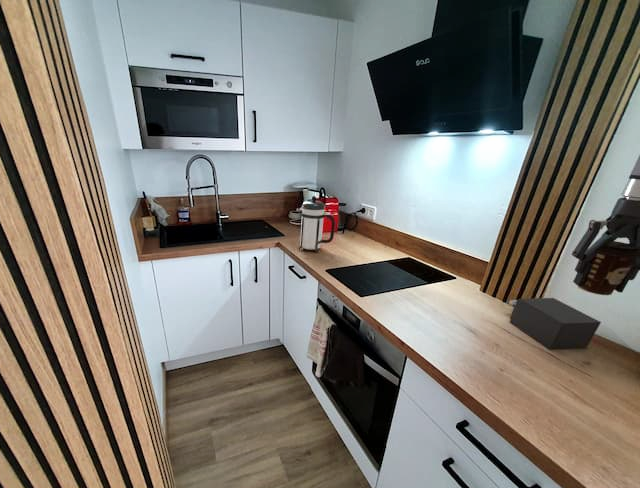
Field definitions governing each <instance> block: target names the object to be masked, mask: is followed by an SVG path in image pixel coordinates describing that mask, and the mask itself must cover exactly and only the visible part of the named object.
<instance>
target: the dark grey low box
mask: <svg viewBox="0 0 640 488" xmlns="http://www.w3.org/2000/svg"><path fill="white" fill-rule="evenodd" d="M518 299H519V302H518V304H517V307H516V309H515V311H514V314H513V316H512V318H511V319H510V321H509V323H510V324H511V325H512V326H514V327H515V328H517V329H518V330H520V331H521V332H523V333H524V334H526V335H527V336H529V337H530V338H532V339H533V340H534V341H536V342H537V343H539V344H540V345H542V346H543V347H544V348H546V349H548V350H550V351H552V350H555V351H556V350H577V349H587V348H588V346H589V344H590V342H591V341H592V339H593V337H594V335H595V334H596V332H597V330H598V328H599V327H600V325H601V323H602V322H601V321H600V320H598V319H595V318H593V317H592V316H590V315H588V314H586V313H584V312H582V311H580V310H578V309H576V308H574V307H573V306H570V305H568V304H566V303H564V302H563V301H560V300H558V299H557V298H554V297H535V298H534V297H533V298H530V297H529V298H518Z"/></svg>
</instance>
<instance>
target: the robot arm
mask: <svg viewBox="0 0 640 488" xmlns="http://www.w3.org/2000/svg"><path fill="white" fill-rule="evenodd" d="M620 196H622V197H620V198H618V199H617V200H616V202H615V204H614V205H613V208H612V210H611V214H610V215H609V216H608V218H606V219H601V220H595V219H591V220H589V222H588V228H587V230H586V231H585V233H584V234H583V235H582V237H581V239H580V240H579V242H578V243H577V245H576V246H575V248H574V249H573V251H572V253H571V255H572V257H573V258H575V259H577V260H578V262H577V264H576V266H575V267H574V271H575V272H576V275H575V276H574V279H573V280H572V283H573V284H575V285H576V286H577V287H578V286H582V284H583V282H584V280H585V278H586V276H587V274H588V272H589V270H590V268H591V266H592V263H591V262H589V261H590V260H592V259H593V258H594V257H595V256H596V250H597V249H599V248H601V247H603V246H604V245H609V244H610V243H611V242H612V241H616V240H617V239H627V240H628V244H629V246H631V247H637V248H639V249H638V250H640V154H639V155H638V157H637V160H636V162H635V164H634V166H633V168H632V170H631V172H630V175H629V176H628V178H627V180H626V183H625V184H624V186H623V188H622V190H621V193H620ZM604 227H605V228H606V230H605V231H604V232H603V233H602V234H601V236H600V237H599V238H598V239H597V240H596V241H595V239H596V238H597V236H598V235H599V233H600V231H601V230H603V229H604ZM633 263H634V264H633V266H632V267H631V269H630V270H629V271H628V273H627V274H626V275H625V277H624V278H623V280H622V281H621V282H620V284H619V285H618V286H617V287H616V288H615V289H614V291H616V292H617V293H620V294H621V293H623V291H624V290H625V288H626V287H627V285H628V283H629V281H633V280H635V279H636V277H637V275H638V274H639V272H640V258H636V259H634V260H633Z"/></svg>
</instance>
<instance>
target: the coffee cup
mask: <svg viewBox="0 0 640 488" xmlns="http://www.w3.org/2000/svg"><path fill="white" fill-rule="evenodd" d="M638 249H639V248H637V247H631V246H629V242H628V243H626V242H622V241H616V240H615V241H612V242H611V243H610V244H609V245H604V246H603V247H601V248H599V249H597V250H596V256H595V257H594V258H593V259H592V260H590V261H589V262H591V263H592V266H591V268H590V270H589V272H588V274H587V276H586V278H585V280H584V282H583V284H582V286H577V287H578V289H579V290H582V291H584V292H586V293H590V294H593V295H599V296H611V295H612V294H613V293H614V291H615V290H614V289H615V288H616V287H617V286H618V285H619V284H620V282H621V281H622V280H623V278H624V277H625V275H626V274H627V273H628V271H629V270H630V269H631V267H632V266H633V264H634V263H633V260H634V259H636V258H640V250H638Z"/></svg>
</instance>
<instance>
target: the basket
mask: <svg viewBox="0 0 640 488" xmlns="http://www.w3.org/2000/svg"><path fill="white" fill-rule="evenodd" d="M519 299H520V298H517V299H511V300H509V301H508V303H509V305H510V306H514V307H513V309H512V311H511V313H510V316H509V319H510V320H511V318H512V316H513V314H514V311H515V309H516V307H517V304H518V302H519Z"/></svg>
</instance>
